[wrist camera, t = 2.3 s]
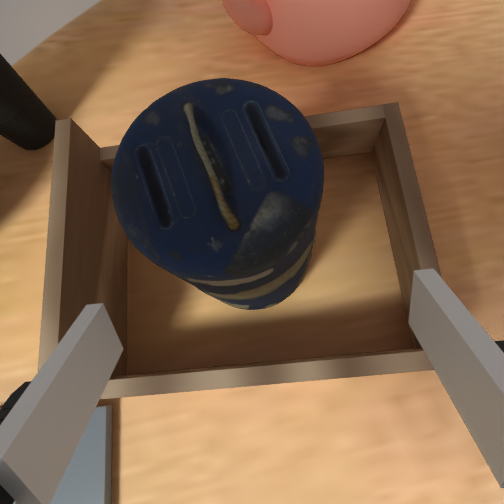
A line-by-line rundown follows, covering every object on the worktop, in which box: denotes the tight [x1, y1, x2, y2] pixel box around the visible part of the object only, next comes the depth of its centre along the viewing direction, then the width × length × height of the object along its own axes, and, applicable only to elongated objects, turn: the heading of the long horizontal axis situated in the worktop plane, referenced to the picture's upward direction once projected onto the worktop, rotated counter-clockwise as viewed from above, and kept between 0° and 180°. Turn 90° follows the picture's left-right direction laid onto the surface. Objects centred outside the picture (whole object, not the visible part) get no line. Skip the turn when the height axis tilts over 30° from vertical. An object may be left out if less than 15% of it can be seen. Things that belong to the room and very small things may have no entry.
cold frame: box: [38, 102, 442, 399], centre depth 26 cm, size 26×20×9 cm
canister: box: [111, 78, 324, 310], centre depth 22 cm, size 10×10×18 cm
